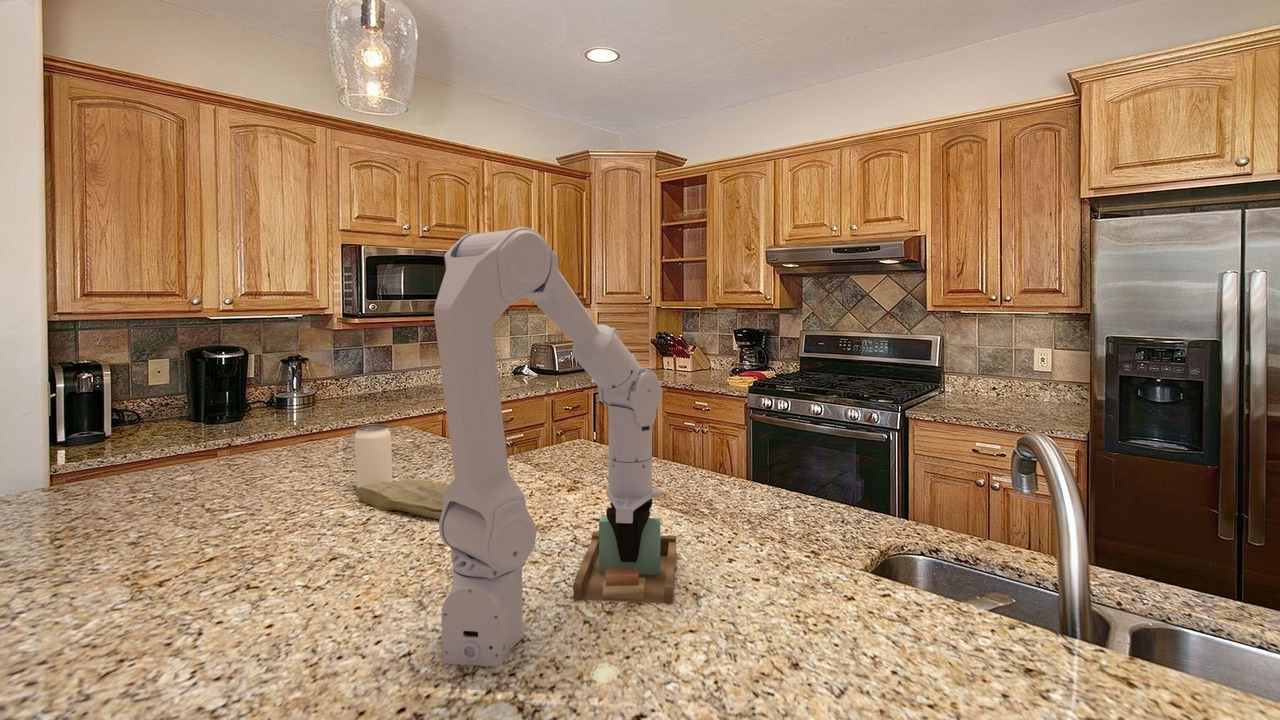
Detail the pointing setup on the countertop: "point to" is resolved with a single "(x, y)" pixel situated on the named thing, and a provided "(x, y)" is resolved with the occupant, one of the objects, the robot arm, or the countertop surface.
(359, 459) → the can
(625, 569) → the offcut upper
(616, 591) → the offcut lower
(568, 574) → the countertop surface
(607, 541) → the block
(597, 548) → the tray
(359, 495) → the stone slab
